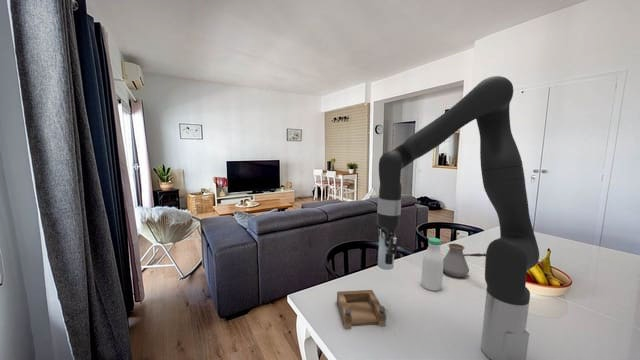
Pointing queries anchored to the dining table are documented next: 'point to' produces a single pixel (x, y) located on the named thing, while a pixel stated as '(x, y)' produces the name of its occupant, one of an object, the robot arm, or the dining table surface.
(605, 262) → the dining table surface
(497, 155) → the robot arm
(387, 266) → the cylinder
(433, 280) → the milk bottle
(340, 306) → the holder
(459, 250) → the coffee pot
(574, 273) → the dining table surface
